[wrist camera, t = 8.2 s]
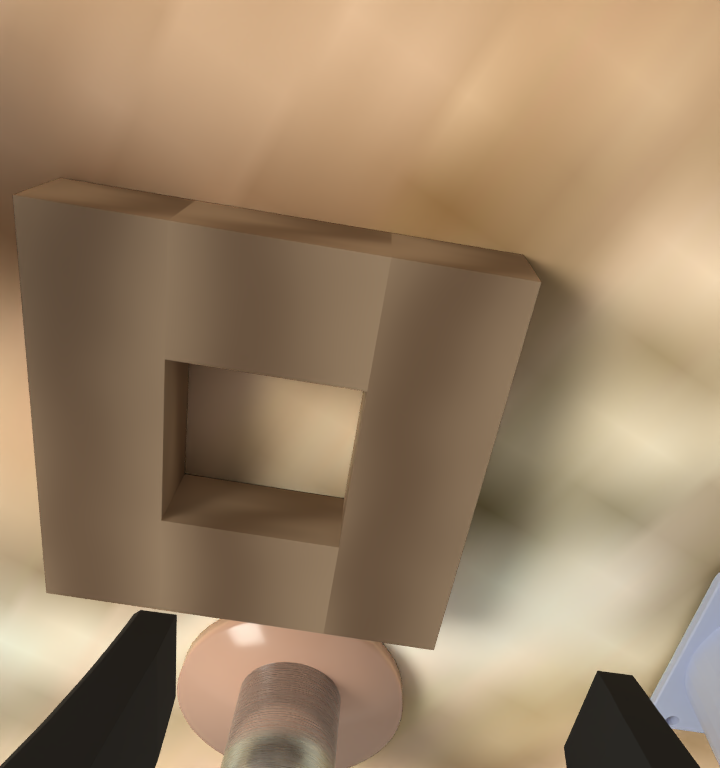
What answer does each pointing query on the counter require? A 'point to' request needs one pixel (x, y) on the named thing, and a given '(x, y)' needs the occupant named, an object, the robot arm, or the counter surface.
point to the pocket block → (271, 358)
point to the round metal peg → (284, 719)
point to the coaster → (275, 644)
